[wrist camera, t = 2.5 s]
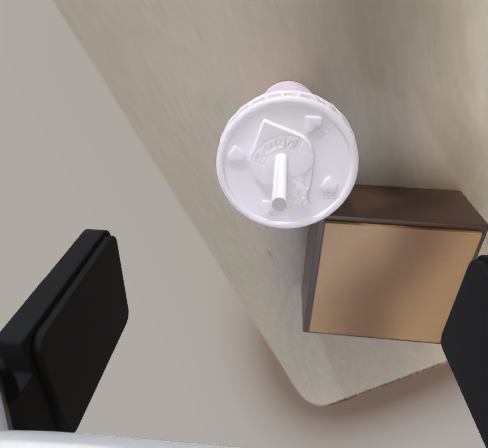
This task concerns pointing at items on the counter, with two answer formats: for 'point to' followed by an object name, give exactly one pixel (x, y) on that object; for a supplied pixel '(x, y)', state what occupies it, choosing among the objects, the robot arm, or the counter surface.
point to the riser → (389, 263)
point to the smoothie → (287, 158)
